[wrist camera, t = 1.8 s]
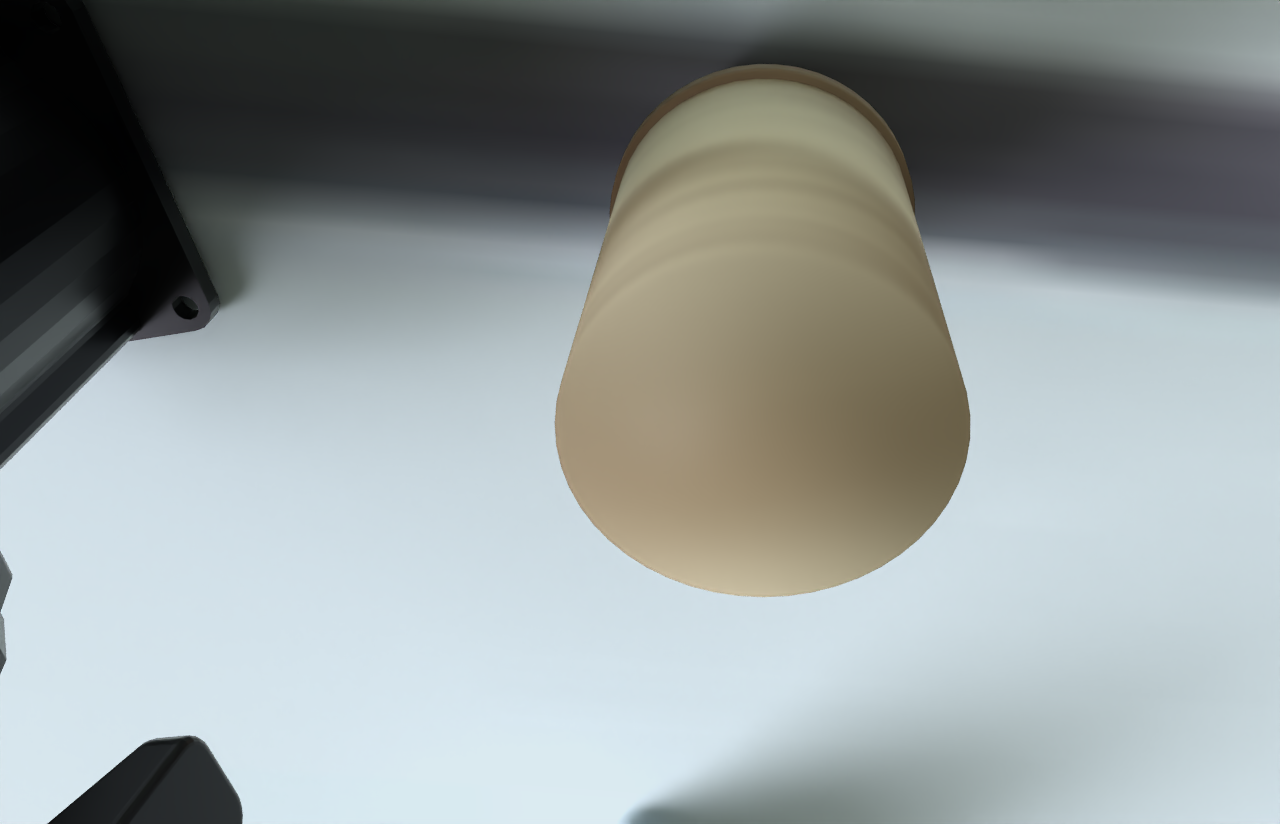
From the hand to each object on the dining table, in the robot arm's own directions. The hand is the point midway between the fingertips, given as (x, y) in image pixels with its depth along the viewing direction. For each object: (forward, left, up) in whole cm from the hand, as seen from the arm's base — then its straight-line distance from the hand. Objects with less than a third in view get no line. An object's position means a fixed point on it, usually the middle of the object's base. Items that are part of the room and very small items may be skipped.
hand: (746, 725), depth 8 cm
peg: (0, 0, -13) cm, 13 cm away
